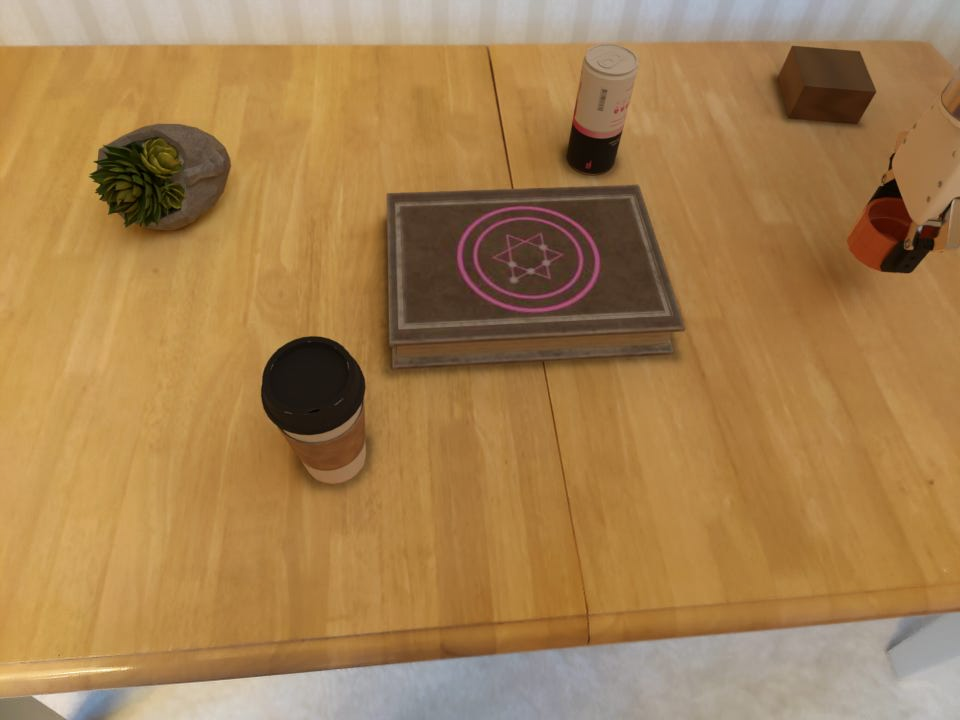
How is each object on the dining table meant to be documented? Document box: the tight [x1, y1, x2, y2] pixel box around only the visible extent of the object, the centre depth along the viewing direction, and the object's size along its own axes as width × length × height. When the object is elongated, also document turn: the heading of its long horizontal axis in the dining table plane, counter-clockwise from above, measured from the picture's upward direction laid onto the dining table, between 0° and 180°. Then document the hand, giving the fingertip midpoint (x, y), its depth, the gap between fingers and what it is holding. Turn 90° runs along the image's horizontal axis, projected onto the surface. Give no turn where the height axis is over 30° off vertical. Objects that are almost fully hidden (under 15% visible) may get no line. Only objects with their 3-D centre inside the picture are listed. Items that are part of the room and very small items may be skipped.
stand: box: [777, 45, 877, 125], centre depth 98 cm, size 10×10×6 cm
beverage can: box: [566, 42, 639, 176], centre depth 84 cm, size 6×7×15 cm
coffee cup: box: [260, 335, 367, 485], centre depth 59 cm, size 8×8×15 cm
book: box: [386, 184, 686, 371], centre depth 76 cm, size 30×22×5 cm
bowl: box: [846, 197, 933, 274], centre depth 71 cm, size 7×7×4 cm
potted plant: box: [88, 123, 232, 231], centre depth 77 cm, size 12×13×15 cm
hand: (885, 241), depth 72 cm, fingers closed on bowl, 7 cm apart
